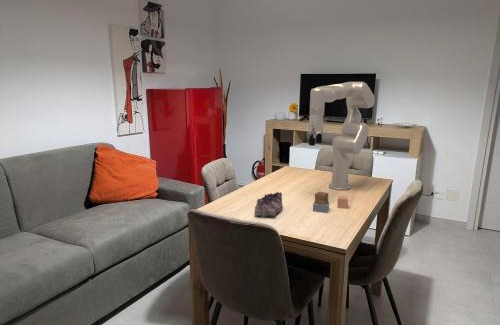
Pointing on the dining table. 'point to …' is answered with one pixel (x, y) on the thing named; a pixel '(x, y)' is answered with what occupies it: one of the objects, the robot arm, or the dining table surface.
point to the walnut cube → (321, 198)
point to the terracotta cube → (342, 202)
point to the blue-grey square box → (321, 207)
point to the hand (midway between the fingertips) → (315, 144)
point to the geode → (269, 205)
